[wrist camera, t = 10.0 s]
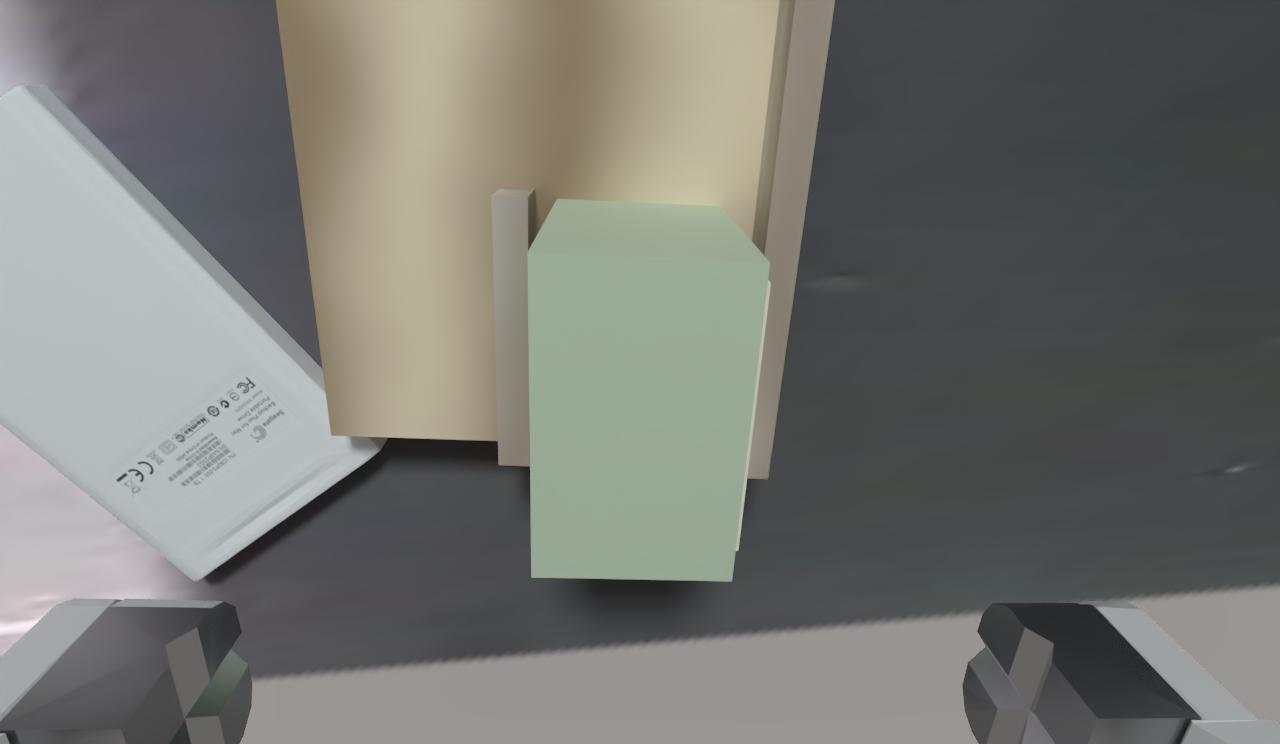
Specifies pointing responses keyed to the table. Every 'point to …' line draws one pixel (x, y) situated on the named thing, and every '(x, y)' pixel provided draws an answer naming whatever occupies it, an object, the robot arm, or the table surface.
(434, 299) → the shelf
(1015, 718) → the robot arm
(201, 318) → the external hard drive
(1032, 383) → the table surface
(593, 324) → the tea box
